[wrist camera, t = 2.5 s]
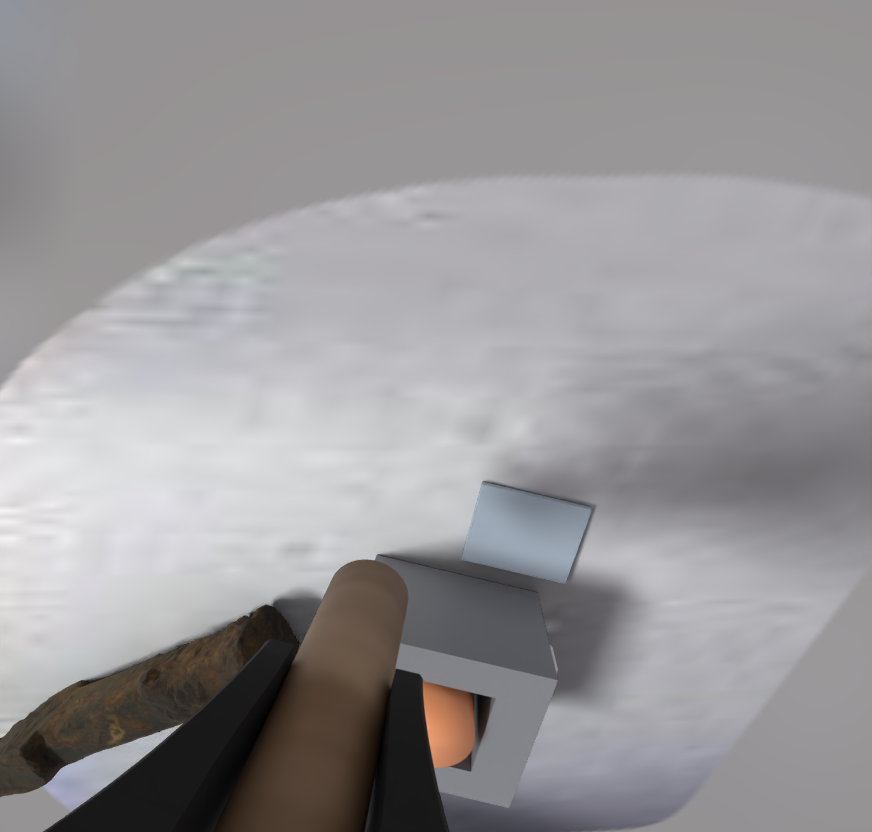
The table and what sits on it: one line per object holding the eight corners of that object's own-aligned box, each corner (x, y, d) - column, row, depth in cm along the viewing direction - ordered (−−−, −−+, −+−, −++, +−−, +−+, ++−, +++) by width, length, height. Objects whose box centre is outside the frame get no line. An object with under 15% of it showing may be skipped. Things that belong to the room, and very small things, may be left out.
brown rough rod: (276, 587, 23) (228, 660, 18) (311, 648, 23) (274, 732, 19) (1, 682, 26) (-97, 764, 21) (41, 732, 27) (-45, 821, 22)
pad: (563, 580, 21) (565, 584, 21) (461, 556, 21) (461, 559, 21) (590, 506, 20) (591, 509, 20) (482, 481, 20) (482, 484, 20)
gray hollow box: (502, 701, 23) (512, 809, 18) (353, 666, 23) (323, 763, 18) (540, 593, 21) (562, 681, 16) (376, 555, 21) (350, 631, 16)
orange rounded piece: (464, 719, 20) (463, 775, 17) (394, 702, 20) (385, 756, 17) (481, 663, 19) (483, 715, 16) (408, 646, 19) (400, 696, 16)
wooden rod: (399, 635, 15) (304, 1129, 6) (324, 617, 15) (119, 1084, 6) (415, 570, 14) (333, 1024, 5) (336, 551, 14) (122, 973, 5)
